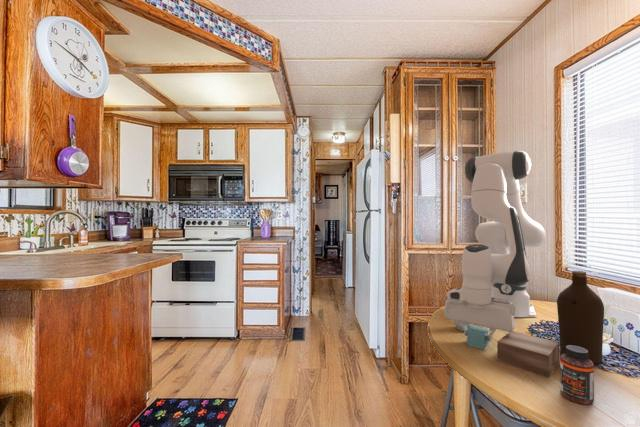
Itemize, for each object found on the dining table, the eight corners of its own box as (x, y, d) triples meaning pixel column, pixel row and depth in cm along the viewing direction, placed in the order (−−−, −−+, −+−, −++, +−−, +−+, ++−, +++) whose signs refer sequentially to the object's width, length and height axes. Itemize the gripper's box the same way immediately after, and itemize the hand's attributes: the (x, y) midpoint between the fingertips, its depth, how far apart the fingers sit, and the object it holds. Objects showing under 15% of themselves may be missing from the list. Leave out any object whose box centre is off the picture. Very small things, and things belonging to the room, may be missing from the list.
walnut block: (511, 349, 95) (511, 330, 95) (559, 363, 86) (559, 342, 86) (497, 362, 87) (497, 341, 87) (548, 378, 78) (548, 355, 78)
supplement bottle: (558, 397, 70) (557, 348, 70) (562, 387, 74) (561, 340, 74) (593, 409, 66) (592, 356, 66) (595, 397, 70) (594, 348, 70)
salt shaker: (473, 332, 108) (472, 296, 109) (456, 331, 110) (455, 295, 110) (468, 326, 114) (468, 292, 114) (452, 325, 115) (452, 291, 115)
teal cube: (471, 340, 102) (471, 325, 102) (488, 344, 99) (488, 328, 99) (467, 345, 98) (467, 329, 98) (484, 349, 95) (484, 333, 95)
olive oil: (612, 368, 83) (610, 276, 83) (564, 361, 87) (562, 273, 87) (595, 352, 92) (594, 269, 93) (553, 346, 97) (551, 267, 97)
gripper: (516, 298, 94) (517, 343, 94) (448, 288, 108) (449, 327, 107) (512, 303, 89) (513, 350, 89) (442, 292, 103) (442, 333, 103)
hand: (477, 338), depth 98 cm, fingers closed on teal cube, 5 cm apart
